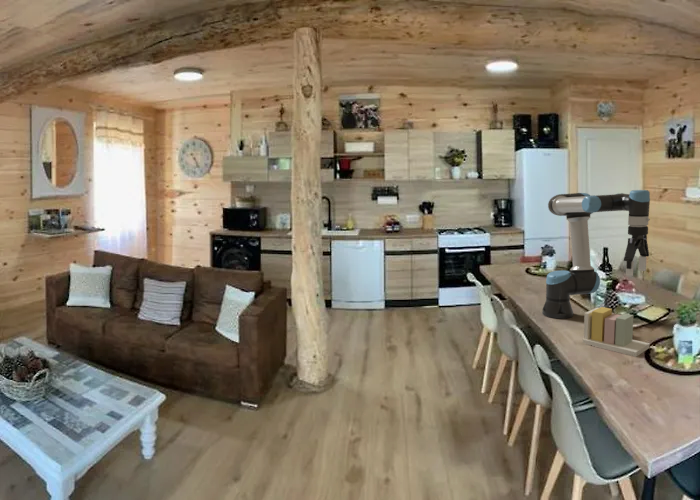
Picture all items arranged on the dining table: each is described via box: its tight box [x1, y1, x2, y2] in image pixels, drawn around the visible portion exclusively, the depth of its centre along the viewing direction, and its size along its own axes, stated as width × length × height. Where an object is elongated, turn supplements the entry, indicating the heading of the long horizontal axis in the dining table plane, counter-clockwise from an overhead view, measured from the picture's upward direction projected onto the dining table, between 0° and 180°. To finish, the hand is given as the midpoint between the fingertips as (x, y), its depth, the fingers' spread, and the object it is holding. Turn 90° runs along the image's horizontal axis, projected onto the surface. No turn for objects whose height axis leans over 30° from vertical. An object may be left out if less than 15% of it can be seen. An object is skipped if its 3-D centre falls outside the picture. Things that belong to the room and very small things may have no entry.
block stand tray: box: [582, 307, 650, 358], centre depth 208 cm, size 22×14×14 cm, turn 38°
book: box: [591, 306, 613, 342], centre depth 212 cm, size 4×9×13 cm, turn 128°
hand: (635, 273), depth 210 cm, fingers open, 13 cm apart
